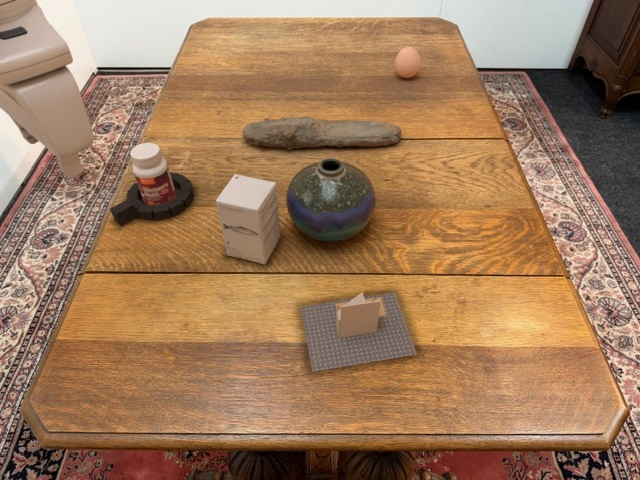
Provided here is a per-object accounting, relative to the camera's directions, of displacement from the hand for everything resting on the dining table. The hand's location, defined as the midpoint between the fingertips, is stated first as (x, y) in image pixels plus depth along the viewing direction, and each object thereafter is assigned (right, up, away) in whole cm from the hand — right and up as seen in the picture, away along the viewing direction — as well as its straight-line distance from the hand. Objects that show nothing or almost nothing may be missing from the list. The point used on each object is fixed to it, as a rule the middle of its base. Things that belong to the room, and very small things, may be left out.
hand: (53, 155), depth 53 cm
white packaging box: (+18, -11, +29) cm, 36 cm away
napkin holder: (+35, -23, +17) cm, 45 cm away
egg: (+53, +34, +73) cm, 96 cm away
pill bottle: (-1, -2, +39) cm, 39 cm away
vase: (+32, -7, +33) cm, 46 cm away
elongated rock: (+30, +13, +52) cm, 62 cm away
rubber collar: (-2, -2, +38) cm, 38 cm away
